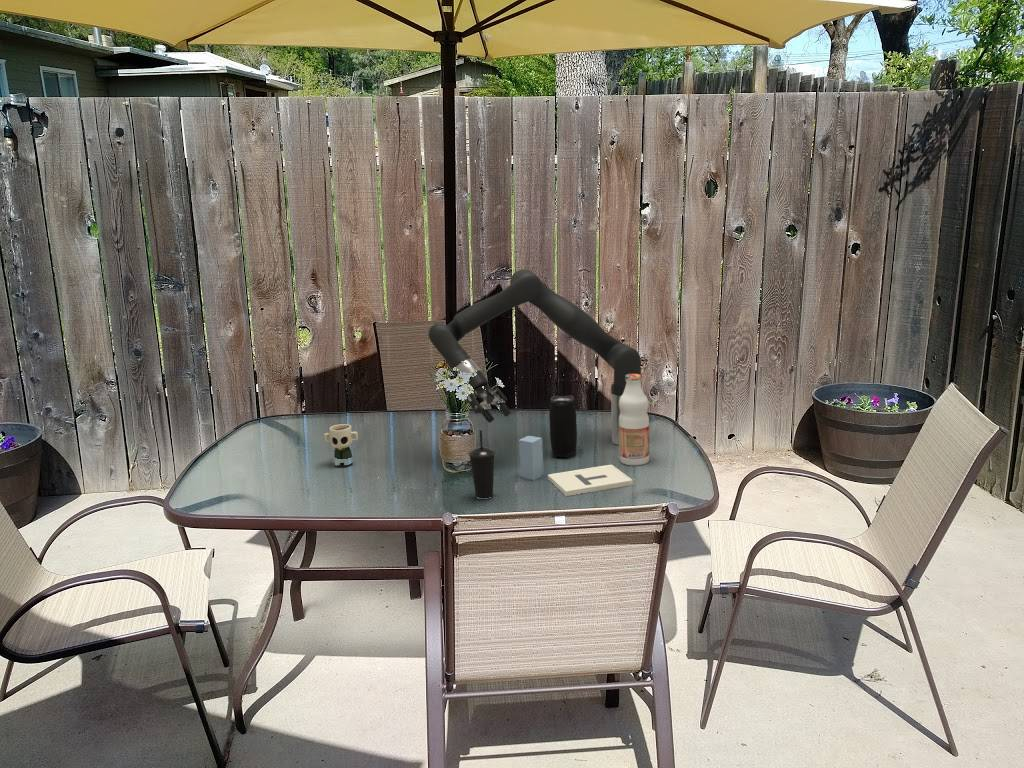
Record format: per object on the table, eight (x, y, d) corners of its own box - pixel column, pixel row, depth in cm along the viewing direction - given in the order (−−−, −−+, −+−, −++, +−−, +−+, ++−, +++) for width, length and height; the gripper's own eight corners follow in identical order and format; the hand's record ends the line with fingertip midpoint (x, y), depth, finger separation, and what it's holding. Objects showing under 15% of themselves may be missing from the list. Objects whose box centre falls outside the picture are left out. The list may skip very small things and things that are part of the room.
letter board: (611, 468, 252) (611, 464, 252) (632, 485, 238) (632, 480, 238) (547, 479, 246) (547, 474, 246) (566, 496, 232) (565, 491, 232)
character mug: (325, 469, 265) (321, 431, 261) (329, 462, 272) (325, 424, 268) (358, 467, 265) (354, 429, 261) (362, 460, 271) (358, 423, 268)
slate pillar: (530, 472, 253) (528, 435, 250) (543, 475, 250) (541, 438, 247) (520, 477, 249) (518, 440, 246) (533, 480, 246) (532, 442, 243)
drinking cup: (474, 503, 230) (470, 436, 225) (468, 494, 237) (464, 428, 233) (500, 499, 232) (496, 432, 227) (494, 490, 239) (490, 425, 234)
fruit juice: (613, 460, 259) (611, 375, 252) (635, 454, 264) (634, 370, 257) (633, 468, 252) (631, 380, 245) (655, 461, 257) (655, 375, 250)
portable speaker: (578, 450, 270) (576, 393, 266) (575, 460, 262) (574, 401, 257) (552, 450, 272) (550, 393, 267) (549, 459, 263) (547, 401, 258)
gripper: (462, 374, 247) (493, 416, 243) (490, 365, 258) (520, 406, 254) (449, 388, 251) (479, 430, 247) (477, 379, 262) (506, 419, 258)
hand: (500, 418), depth 251 cm, fingers open, 8 cm apart
